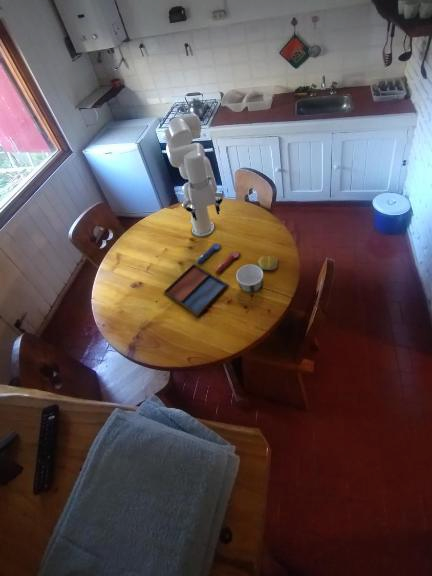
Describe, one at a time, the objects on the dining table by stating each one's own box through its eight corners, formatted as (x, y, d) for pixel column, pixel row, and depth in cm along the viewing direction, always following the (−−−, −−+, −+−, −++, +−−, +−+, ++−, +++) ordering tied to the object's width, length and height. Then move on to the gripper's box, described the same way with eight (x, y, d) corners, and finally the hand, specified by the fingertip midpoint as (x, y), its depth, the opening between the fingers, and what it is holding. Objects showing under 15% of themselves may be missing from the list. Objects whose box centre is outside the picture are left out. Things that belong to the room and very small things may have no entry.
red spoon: (220, 275, 164) (219, 272, 163) (213, 272, 167) (213, 268, 166) (241, 255, 173) (240, 251, 171) (234, 251, 175) (233, 248, 174)
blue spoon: (201, 266, 171) (200, 263, 170) (194, 263, 174) (193, 259, 172) (221, 247, 179) (221, 243, 178) (215, 244, 182) (214, 240, 180)
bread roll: (259, 257, 170) (259, 251, 167) (278, 259, 167) (277, 253, 165) (257, 270, 164) (256, 264, 161) (276, 272, 161) (275, 266, 158)
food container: (268, 289, 154) (267, 279, 150) (243, 298, 153) (241, 288, 149) (258, 270, 163) (257, 261, 159) (234, 278, 162) (232, 269, 158)
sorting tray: (164, 293, 162) (163, 291, 160) (194, 266, 172) (193, 263, 171) (198, 317, 149) (197, 314, 147) (228, 286, 159) (227, 283, 158)
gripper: (218, 171, 139) (224, 205, 150) (176, 182, 138) (185, 215, 148) (222, 181, 133) (228, 215, 144) (178, 192, 132) (188, 226, 142)
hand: (206, 215), depth 146 cm, fingers open, 9 cm apart
